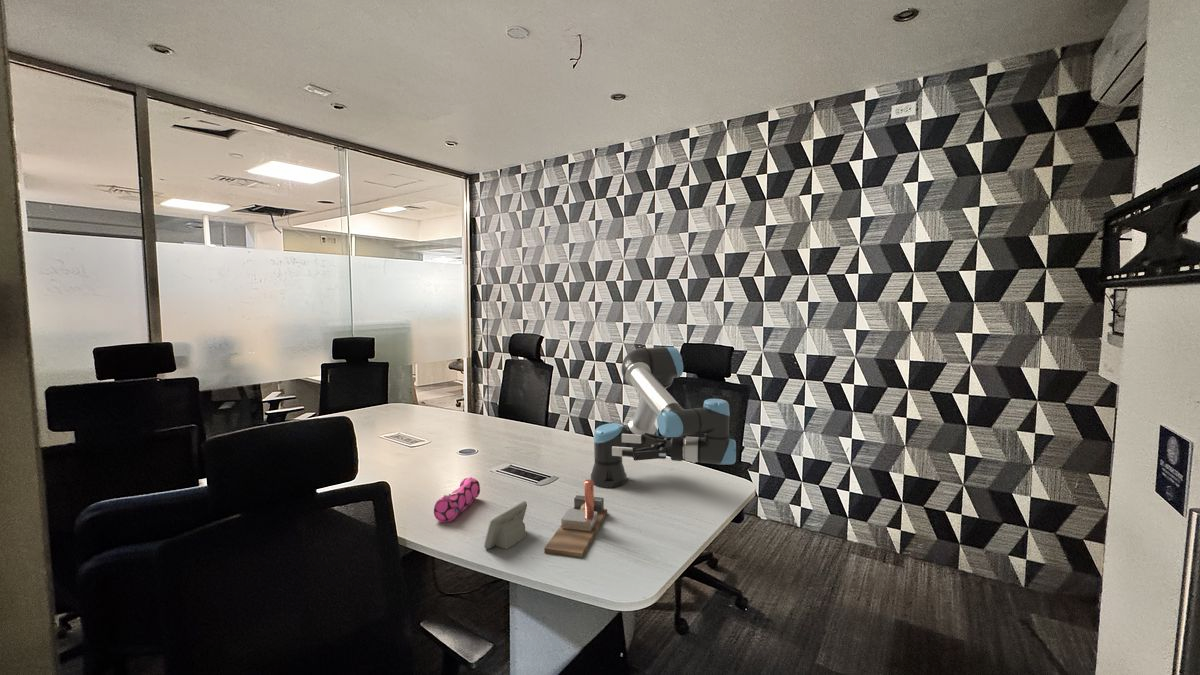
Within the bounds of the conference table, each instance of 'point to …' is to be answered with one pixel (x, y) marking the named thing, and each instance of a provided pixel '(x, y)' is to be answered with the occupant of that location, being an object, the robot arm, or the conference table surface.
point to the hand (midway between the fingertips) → (617, 444)
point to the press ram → (582, 512)
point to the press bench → (576, 532)
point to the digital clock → (507, 527)
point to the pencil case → (457, 500)
